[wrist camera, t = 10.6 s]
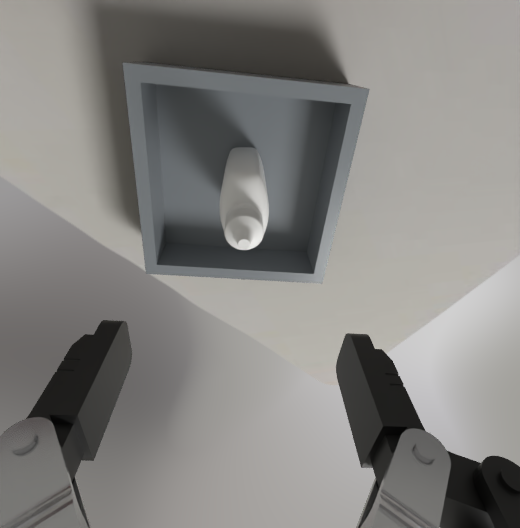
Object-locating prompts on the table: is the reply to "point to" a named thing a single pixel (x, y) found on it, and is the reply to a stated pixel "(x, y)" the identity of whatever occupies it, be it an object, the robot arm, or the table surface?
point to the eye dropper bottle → (244, 199)
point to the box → (215, 158)
